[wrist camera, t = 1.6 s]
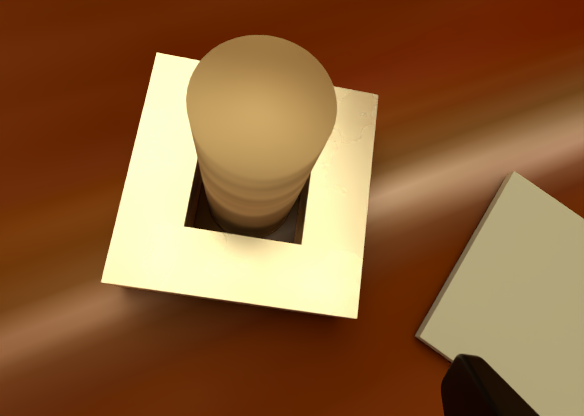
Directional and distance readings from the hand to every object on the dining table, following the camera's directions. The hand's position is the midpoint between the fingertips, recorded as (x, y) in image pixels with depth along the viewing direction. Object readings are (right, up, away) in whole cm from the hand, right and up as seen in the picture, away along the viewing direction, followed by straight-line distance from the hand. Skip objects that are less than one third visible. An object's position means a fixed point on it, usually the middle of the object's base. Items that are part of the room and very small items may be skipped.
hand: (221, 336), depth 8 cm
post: (-1, +3, +13) cm, 13 cm away
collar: (-1, +3, +13) cm, 13 cm away
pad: (+14, -3, +14) cm, 20 cm away
